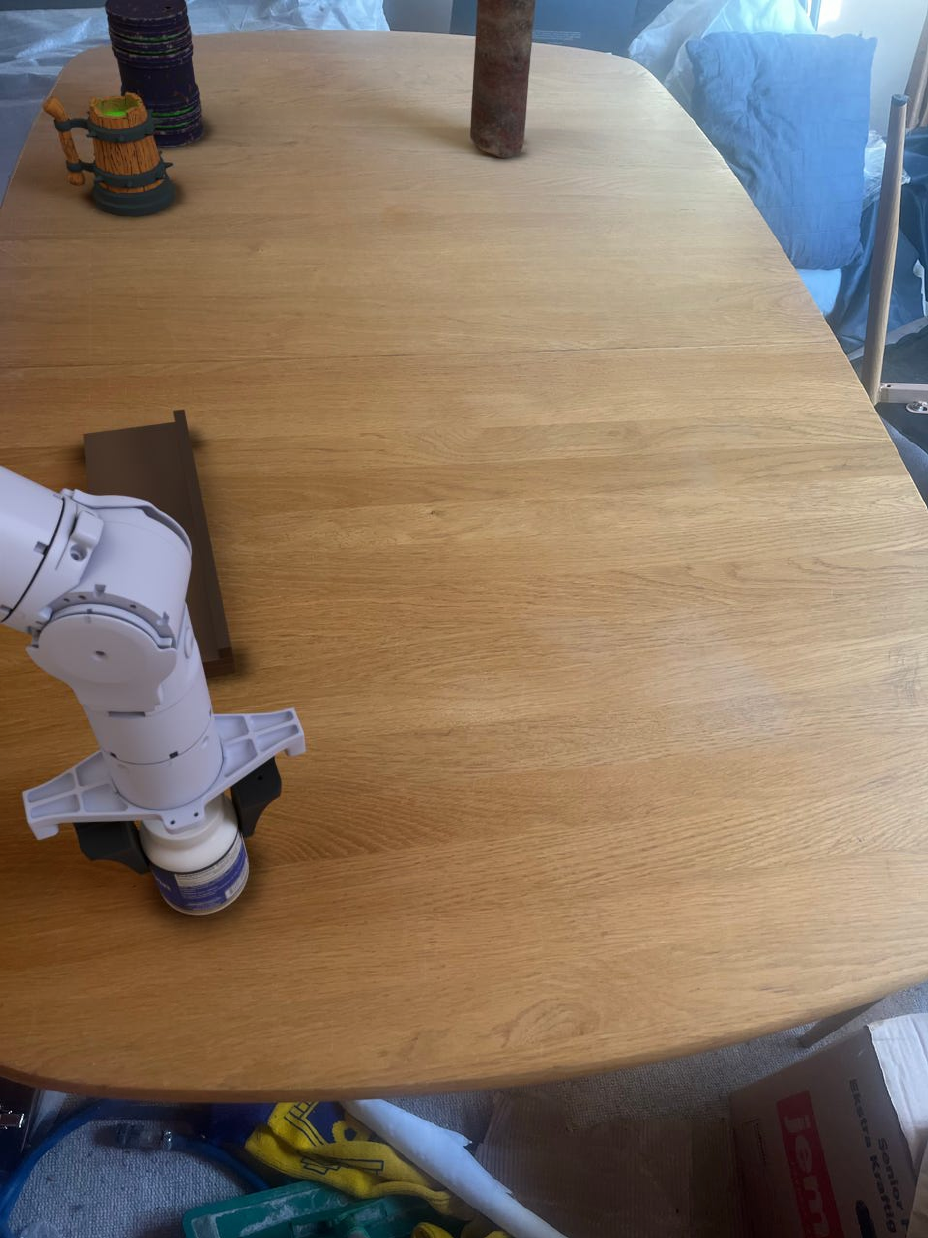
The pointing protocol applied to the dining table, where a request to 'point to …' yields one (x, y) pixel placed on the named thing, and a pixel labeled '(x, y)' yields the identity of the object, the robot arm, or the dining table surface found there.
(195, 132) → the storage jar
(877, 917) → the dining table surface
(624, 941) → the dining table surface
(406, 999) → the dining table surface
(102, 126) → the mug
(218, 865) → the pill bottle
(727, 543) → the dining table surface
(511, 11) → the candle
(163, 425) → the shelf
